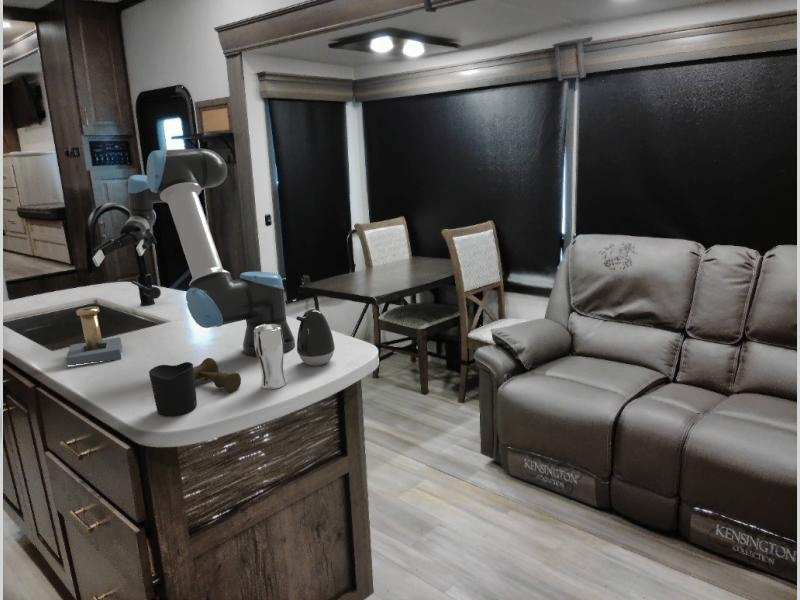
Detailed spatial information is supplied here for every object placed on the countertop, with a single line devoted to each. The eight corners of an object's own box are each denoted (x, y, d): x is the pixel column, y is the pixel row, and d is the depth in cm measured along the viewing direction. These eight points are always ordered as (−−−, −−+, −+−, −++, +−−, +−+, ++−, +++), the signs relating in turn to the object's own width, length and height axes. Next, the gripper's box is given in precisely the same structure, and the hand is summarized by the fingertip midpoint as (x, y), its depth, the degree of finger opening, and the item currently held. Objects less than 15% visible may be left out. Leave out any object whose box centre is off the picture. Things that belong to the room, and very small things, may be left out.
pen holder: (175, 420, 130) (168, 378, 127) (146, 413, 134) (139, 372, 132) (207, 404, 138) (201, 364, 135) (179, 398, 142) (173, 359, 140)
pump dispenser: (290, 364, 161) (284, 311, 158) (319, 353, 169) (315, 302, 165) (314, 372, 155) (308, 316, 151) (343, 360, 162) (339, 307, 158)
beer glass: (279, 391, 143) (272, 332, 139) (254, 389, 145) (247, 331, 142) (292, 380, 149) (287, 324, 146) (268, 378, 152) (262, 322, 148)
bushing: (107, 357, 176) (98, 309, 173) (84, 361, 174) (75, 312, 170) (107, 351, 182) (99, 305, 178) (86, 355, 179) (77, 308, 176)
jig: (121, 359, 174) (119, 349, 173) (67, 368, 169) (65, 358, 168) (122, 346, 187) (120, 337, 186) (72, 354, 181) (70, 344, 181)
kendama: (220, 401, 141) (167, 385, 151) (250, 387, 149) (197, 373, 159) (218, 377, 139) (164, 363, 150) (248, 365, 147) (195, 352, 158)
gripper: (175, 232, 201) (161, 258, 182) (103, 249, 200) (83, 277, 182) (166, 212, 197) (152, 236, 179) (93, 229, 196) (71, 256, 178)
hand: (117, 257), depth 180 cm, fingers open, 13 cm apart
